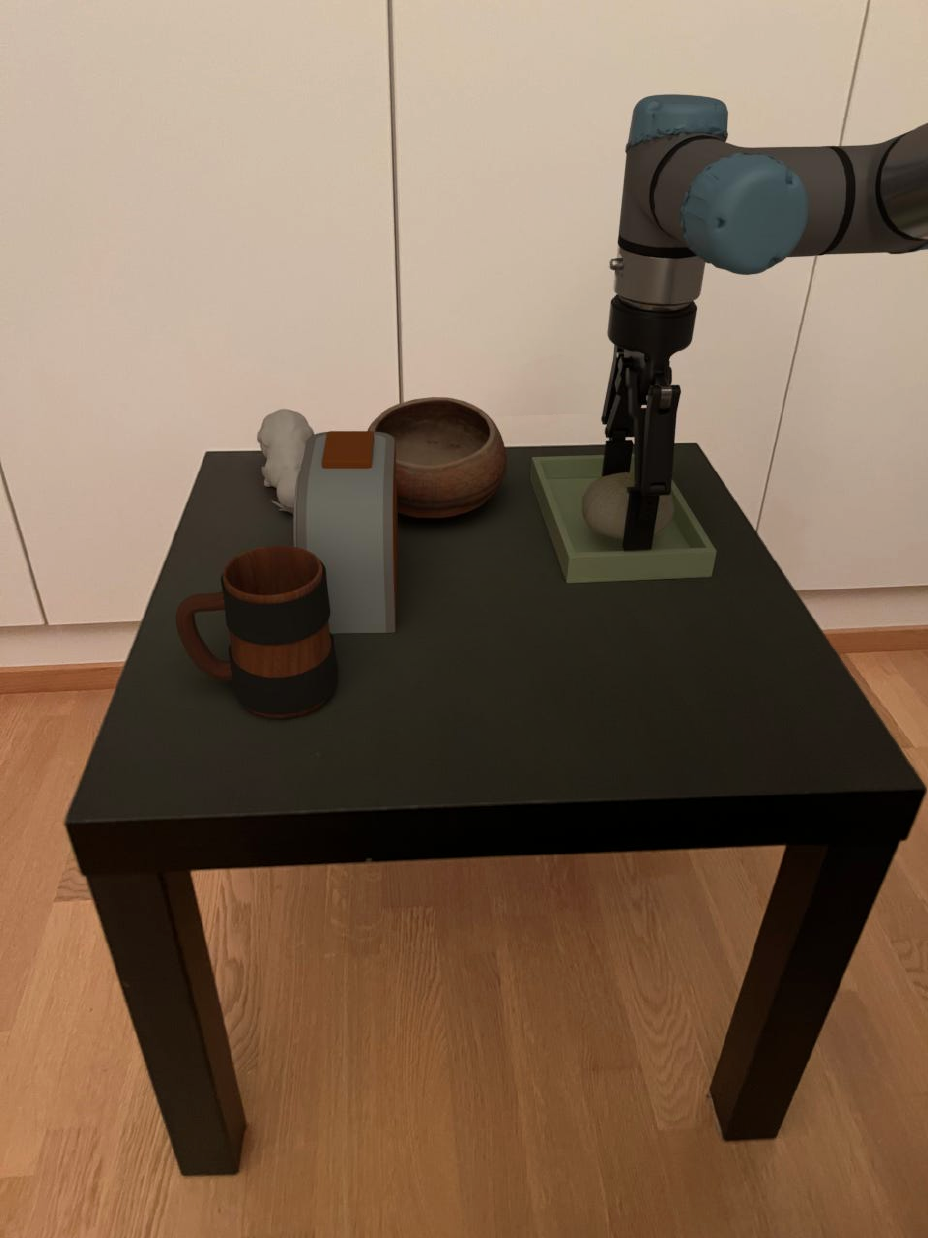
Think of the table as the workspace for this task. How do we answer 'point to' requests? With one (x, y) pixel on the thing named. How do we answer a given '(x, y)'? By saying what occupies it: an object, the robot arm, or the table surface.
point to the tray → (604, 557)
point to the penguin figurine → (283, 452)
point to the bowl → (443, 456)
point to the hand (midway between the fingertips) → (624, 522)
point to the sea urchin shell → (617, 505)
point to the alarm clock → (351, 525)
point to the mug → (269, 631)
